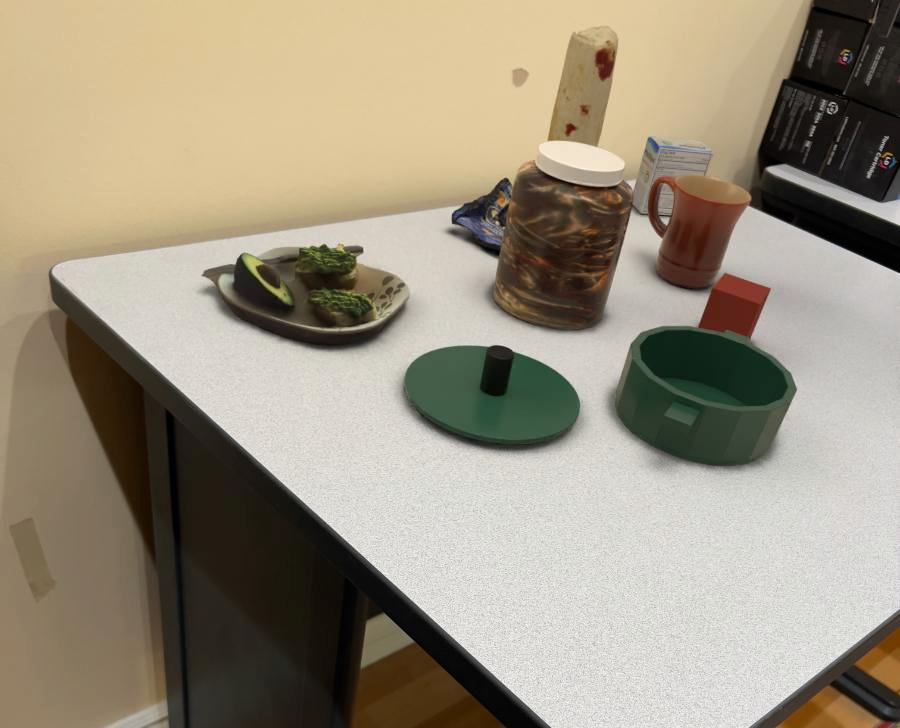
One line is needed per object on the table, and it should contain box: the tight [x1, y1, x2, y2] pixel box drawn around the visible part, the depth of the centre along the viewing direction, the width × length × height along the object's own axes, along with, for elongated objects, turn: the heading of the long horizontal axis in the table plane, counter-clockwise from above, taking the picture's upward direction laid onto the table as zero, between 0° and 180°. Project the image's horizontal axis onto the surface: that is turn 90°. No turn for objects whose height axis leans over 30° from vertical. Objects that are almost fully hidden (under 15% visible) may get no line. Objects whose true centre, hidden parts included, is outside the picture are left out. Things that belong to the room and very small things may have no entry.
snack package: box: [451, 177, 514, 252], centre depth 105 cm, size 12×6×12 cm
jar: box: [492, 141, 634, 330], centre depth 90 cm, size 12×12×15 cm
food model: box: [546, 25, 619, 147], centre depth 113 cm, size 10×7×20 cm
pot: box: [614, 325, 798, 467], centre depth 79 cm, size 15×20×6 cm
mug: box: [647, 174, 752, 289], centre depth 103 cm, size 12×9×10 cm
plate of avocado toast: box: [200, 243, 411, 346], centre depth 87 cm, size 19×18×5 cm
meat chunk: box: [697, 272, 772, 342], centre depth 92 cm, size 5×5×6 cm
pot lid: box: [403, 344, 581, 445], centre depth 77 cm, size 16×16×5 cm
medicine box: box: [632, 135, 714, 216], centre depth 119 cm, size 8×4×9 cm, turn 102°
